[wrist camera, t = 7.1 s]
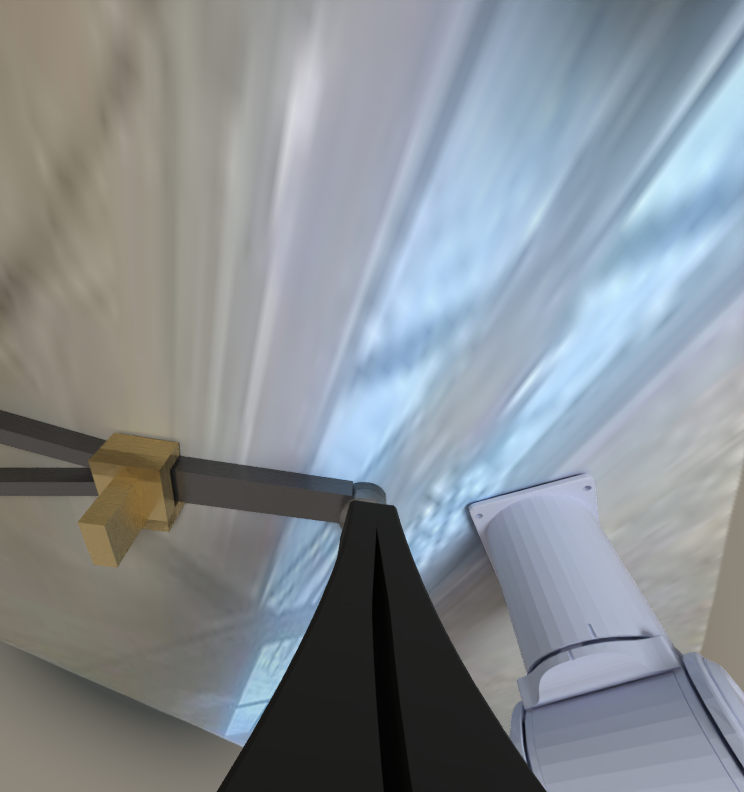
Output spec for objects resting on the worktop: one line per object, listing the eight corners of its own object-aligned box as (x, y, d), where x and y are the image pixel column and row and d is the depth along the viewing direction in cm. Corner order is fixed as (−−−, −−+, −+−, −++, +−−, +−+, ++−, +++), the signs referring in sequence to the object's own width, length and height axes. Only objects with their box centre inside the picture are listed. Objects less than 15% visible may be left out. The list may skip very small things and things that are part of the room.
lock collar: (178, 442, 21) (127, 517, 17) (185, 502, 24) (143, 579, 20) (114, 432, 21) (44, 506, 17) (128, 494, 24) (73, 571, 19)
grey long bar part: (402, 451, 22) (405, 475, 20) (371, 541, 27) (371, 566, 25) (-152, 363, 19) (-203, 383, 17) (-70, 484, 24) (-104, 509, 22)
